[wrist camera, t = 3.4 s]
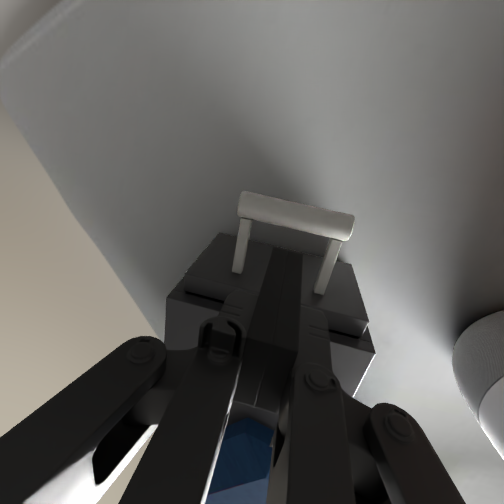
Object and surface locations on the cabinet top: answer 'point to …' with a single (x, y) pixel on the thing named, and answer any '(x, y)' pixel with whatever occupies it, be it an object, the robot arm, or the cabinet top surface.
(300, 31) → the cabinet top surface
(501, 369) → the smart speaker
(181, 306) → the cabinet
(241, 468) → the radio
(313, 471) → the robot arm
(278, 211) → the drawer
